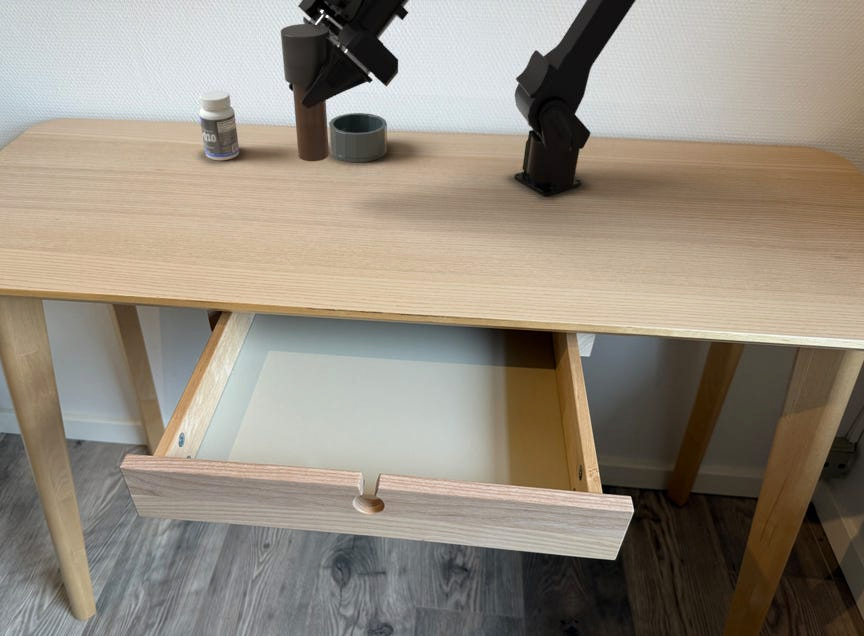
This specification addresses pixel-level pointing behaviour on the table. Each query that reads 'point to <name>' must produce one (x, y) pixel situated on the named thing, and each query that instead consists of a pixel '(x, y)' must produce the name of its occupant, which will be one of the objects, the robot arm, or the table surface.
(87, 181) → the table surface
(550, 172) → the robot arm
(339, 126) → the cup
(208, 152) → the pill bottle
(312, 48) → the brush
